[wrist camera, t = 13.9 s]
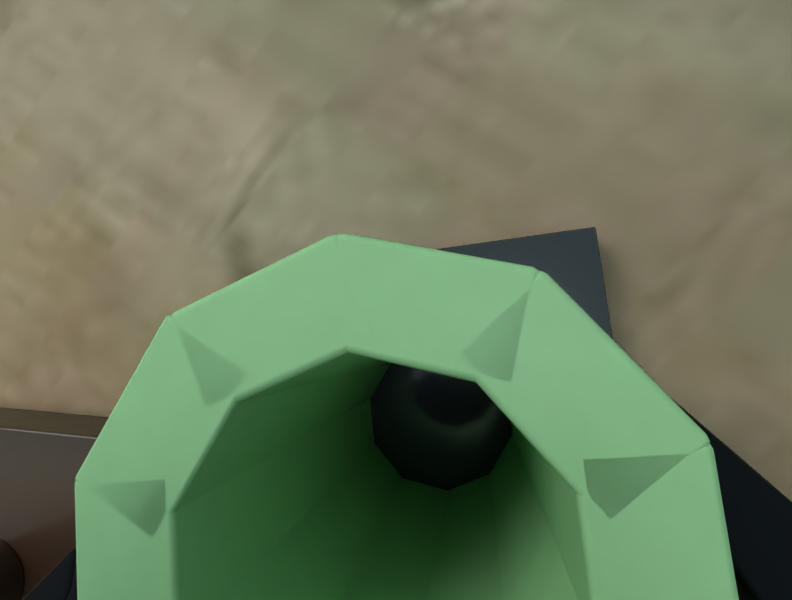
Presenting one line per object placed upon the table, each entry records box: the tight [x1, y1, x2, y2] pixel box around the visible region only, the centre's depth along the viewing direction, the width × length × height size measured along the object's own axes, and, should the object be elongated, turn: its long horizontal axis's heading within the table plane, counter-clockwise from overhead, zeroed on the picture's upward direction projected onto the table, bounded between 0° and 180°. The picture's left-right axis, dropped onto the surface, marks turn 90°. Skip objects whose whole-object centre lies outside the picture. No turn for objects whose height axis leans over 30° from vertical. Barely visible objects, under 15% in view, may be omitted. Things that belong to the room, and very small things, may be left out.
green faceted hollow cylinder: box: [75, 233, 739, 600], centre depth 9 cm, size 6×7×9 cm
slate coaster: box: [370, 227, 613, 491], centre depth 14 cm, size 10×10×1 cm
